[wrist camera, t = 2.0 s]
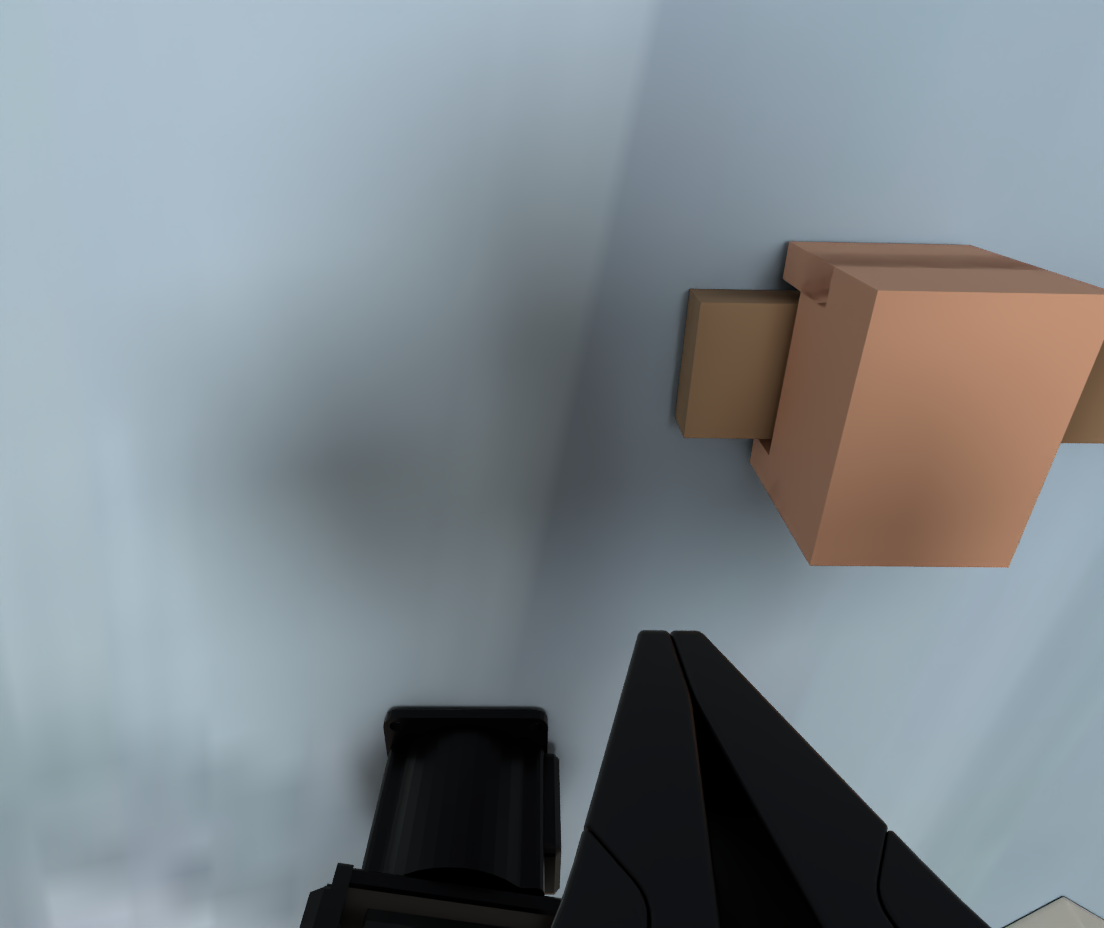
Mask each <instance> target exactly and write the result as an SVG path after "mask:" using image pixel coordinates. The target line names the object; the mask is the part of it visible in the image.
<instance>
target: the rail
mask: <svg viewBox="0 0 1104 928" xmlns="http://www.w3.org/2000/svg"><path fill="white" fill-rule="evenodd" d="M800 293H801V292H800V291H784V290H729V289H690V292H689V301H688V309H687V318H686V327H685V335H684V344H683V352H682V361H681V369H680V378H679V387H678V395H677V404H676V412H675V418H676V421H677V423H678V425H679V428H680V430H681V432H682V435H683V437H684V438H736V439H772V437H773V432H774V427H775V422H776V417H777V412H778V407H779V401H780V396H781V391H782V386H783V381H784V376H785V370H786V365H787V360H788V355H789V350H790V345H791V340H792V334H793V329H794V324H795V319H796V314H797V309H798V303H799V298H800ZM1061 443H1104V341H1103V343H1102V345H1101V348H1100V350H1099V353H1098V355H1097V357H1096V360H1095V362H1094V365H1093V367H1092V369H1091V372H1090V374H1089V376H1088V379H1087V381H1086V384H1085V386H1084V388H1083V391H1082V393H1081V396H1080V398H1079V400H1078V403H1077V405H1076V407H1075V410H1074V412H1073V415H1072V417H1071V419H1070V422H1069V424H1068V427H1067V429H1066V431H1065V434H1064V436H1063V438H1062V441H1061Z"/></svg>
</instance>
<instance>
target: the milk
mask: <svg viewBox="0 0 1104 928" xmlns="http://www.w3.org/2000/svg"><path fill="white" fill-rule="evenodd" d="M1005 928H1104V920H1103V919H1101V918H1099V917H1098V916H1096V915H1094V914H1092V913H1091V912H1089V911H1087V910H1086V909H1084V908H1082V907H1080V906H1079V905H1077V904H1075V903H1074V902H1072V901H1070V900H1068V899H1067V898H1065V897H1061V898H1059V899H1058V900H1056V901H1054V902H1052V903H1050V904H1048V905H1046V906H1045V907H1043V908H1041V909H1039V910H1037V911H1035V912H1033V913H1031V914H1030V915H1028V916H1026V917H1024V918H1022V919H1020V920H1018V921H1016V922H1015V923H1013V924H1011V925H1009V926H1007V927H1005Z"/></svg>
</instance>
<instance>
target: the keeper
mask: <svg viewBox="0 0 1104 928" xmlns="http://www.w3.org/2000/svg"><path fill="white" fill-rule="evenodd" d="M783 279H784V280H785V281H787V282H788V283H789V284H791V285H792V286H794V287H795V288H796V289H798V290H799V291H800V292H801V293H800V298H799V303H798V309H797V314H796V319H795V324H794V329H793V334H792V340H791V345H790V350H789V355H788V360H787V365H786V370H785V376H784V381H783V386H782V391H781V396H780V401H779V407H778V412H777V417H776V422H775V427H774V432H773V437H772V439H754V441H753V446H752V452H751V457H750V463H751V465H752V467H753V468H754V470H755V472H756V474H757V475H758V477H759V479H760V481H761V482H762V484H763V486H764V487H765V489H766V491H767V493H768V494H769V496H770V498H771V499H772V501H773V503H774V505H775V506H776V508H777V510H778V512H779V513H780V515H781V517H782V518H783V520H784V522H785V524H786V525H787V527H788V529H789V530H790V532H791V534H792V536H793V537H794V539H795V541H796V542H797V544H798V546H799V548H800V549H801V551H802V553H803V555H804V556H805V558H806V560H807V561H808V563H809V565H810V566H914V567H1009V565H1010V562H1011V560H1012V558H1013V555H1014V553H1015V551H1016V548H1017V546H1018V543H1019V541H1020V539H1021V536H1022V534H1023V531H1024V529H1025V527H1026V524H1027V522H1028V520H1029V517H1030V515H1031V512H1032V510H1033V508H1034V505H1035V503H1036V500H1037V498H1038V496H1039V493H1040V491H1041V489H1042V486H1043V484H1044V481H1045V479H1046V477H1047V474H1048V472H1049V469H1050V467H1051V465H1052V462H1053V460H1054V458H1055V455H1056V453H1057V450H1058V448H1059V446H1060V443H1061V441H1062V438H1063V436H1064V434H1065V431H1066V429H1067V427H1068V424H1069V422H1070V419H1071V417H1072V415H1073V412H1074V410H1075V407H1076V405H1077V403H1078V400H1079V398H1080V396H1081V393H1082V391H1083V388H1084V386H1085V384H1086V381H1087V379H1088V376H1089V374H1090V372H1091V369H1092V367H1093V365H1094V362H1095V360H1096V357H1097V355H1098V353H1099V350H1100V348H1101V345H1102V343H1103V341H1104V289H1103V288H1100V287H1097V286H1094V285H1091V284H1088V283H1085V282H1082V281H1078V280H1075V279H1072V278H1069V277H1066V276H1063V275H1060V274H1057V273H1054V272H1051V271H1048V270H1045V269H1042V268H1039V267H1036V266H1033V265H1030V264H1026V263H1023V262H1020V261H1017V260H1014V259H1011V258H1008V257H1005V256H1002V255H999V254H996V253H993V252H990V251H987V250H984V249H981V248H978V247H975V246H971V245H941V244H890V243H839V242H789V246H788V251H787V257H786V263H785V268H784V274H783Z"/></svg>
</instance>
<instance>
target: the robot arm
mask: <svg viewBox="0 0 1104 928" xmlns="http://www.w3.org/2000/svg"><path fill="white" fill-rule="evenodd" d="M396 722H399V723H396ZM535 723H536V724H535ZM383 727H384V734H385V742H386V749H387V756H388V760H387V764H386V768H385V772H384V777H383V781H382V785H381V789H380V793H379V798H378V802H377V806H376V810H375V815H374V819H373V823H372V827H371V831H370V836H369V840H368V844H367V848H366V853H365V857H364V861H363V865H362V869H356V868H353V867H354V865H350V864H343V863H338V864H337V868H336V871H335V875H334V878H333V882H332V884H327V886H325V887H323V888H320V889H318V890H315V891H312V892H310V894H309V898H308V901H307V905H306V908H305V911H304V915H303V918H302V921H301V925H300V928H991V927H990V926H989V925H988V924H987V923H985V922H984V921H983V920H982V919H981V918H980V917H979V916H978V915H977V914H976V913H975V912H974V911H972V910H971V909H970V908H969V907H968V906H967V905H966V904H965V903H964V902H963V901H962V900H961V899H960V898H959V897H958V896H957V895H956V894H955V893H954V892H953V891H952V890H951V889H950V888H949V887H948V886H947V885H946V884H945V883H944V882H943V881H942V880H941V879H940V878H939V877H938V876H937V875H936V874H935V873H934V872H933V871H932V870H931V869H930V868H929V867H928V866H927V865H926V864H925V863H924V862H923V861H921V860H920V859H919V857H918V856H917V855H916V854H915V853H914V852H913V851H912V850H911V849H910V848H909V847H908V846H907V845H906V844H905V843H904V842H903V841H902V840H901V839H900V838H899V837H898V836H897V835H896V834H895V833H894V832H893V831H888V832H887V825H886V824H885V823H884V821H883V820H882V819H881V818H880V817H879V816H878V815H877V814H876V813H875V812H874V811H873V810H872V809H871V808H870V807H869V806H868V805H867V804H866V803H865V802H864V801H863V800H862V799H861V798H860V796H859V795H858V794H857V793H856V792H855V791H854V790H853V789H852V788H851V787H850V786H849V785H848V784H847V783H846V782H845V781H844V780H843V779H842V778H841V777H840V776H839V775H838V774H837V773H836V772H835V770H834V769H833V768H832V767H831V766H830V765H829V764H828V763H827V762H826V761H825V760H824V759H823V758H822V757H821V756H820V755H819V754H818V753H817V752H816V751H815V750H814V749H813V748H812V747H811V746H810V744H809V743H808V742H807V741H806V740H805V739H804V738H803V737H802V736H801V735H800V734H799V733H798V732H797V731H796V730H795V729H794V728H793V727H792V726H791V725H790V724H789V723H788V722H787V721H786V720H785V718H784V717H783V716H782V715H781V714H780V713H779V712H778V711H777V710H776V709H775V708H774V707H773V706H772V705H771V704H770V703H769V702H768V701H767V700H766V699H765V698H764V697H763V696H762V695H761V694H760V692H759V691H758V690H757V689H756V688H755V687H754V686H753V685H752V684H751V683H750V682H749V681H748V680H747V679H746V678H745V677H744V676H743V675H742V674H741V673H740V672H739V671H738V670H737V669H736V668H735V666H734V665H733V664H732V663H731V662H730V661H729V660H728V659H727V658H726V657H725V656H724V655H723V654H722V653H721V652H720V651H719V650H718V649H717V648H716V647H715V646H714V645H713V644H712V643H711V641H710V640H709V639H708V638H707V637H706V636H705V635H704V634H703V633H701V632H699V631H673V632H671V633H670V634H669V633H668V632H667V631H664V630H643V631H640V632H639V634H638V636H637V640H636V644H635V647H634V651H633V654H632V658H631V661H630V665H629V668H628V672H627V676H626V679H625V683H624V686H623V690H622V693H621V697H620V700H619V704H618V708H617V711H616V715H615V718H614V722H613V725H612V729H611V733H610V736H609V740H608V743H607V747H606V750H605V754H604V757H603V761H602V765H601V768H600V772H599V775H598V779H597V782H596V786H595V790H594V793H593V797H592V800H591V804H590V807H589V811H588V814H587V818H586V822H585V825H584V831H583V832H582V834H581V838H580V842H579V845H578V849H577V852H576V856H575V859H574V863H573V866H572V869H571V872H570V875H569V878H568V881H567V885H566V888H565V891H564V894H563V897H562V898H556V897H549V896H544V895H545V894H555V893H556V892H557V890H558V889H559V888H560V866H561V822H560V782H559V759H558V758H557V757H556V755H555V754H547V743H548V718H547V715H546V714H545V713H544V712H542V711H538V710H392V711H390V712H388V713H387V714H386V717H385V721H384V726H383Z"/></svg>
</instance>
